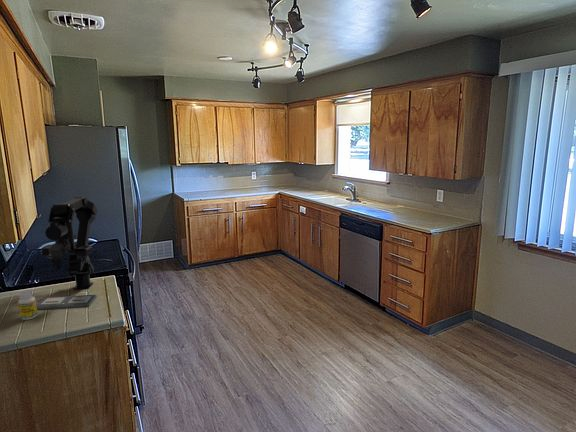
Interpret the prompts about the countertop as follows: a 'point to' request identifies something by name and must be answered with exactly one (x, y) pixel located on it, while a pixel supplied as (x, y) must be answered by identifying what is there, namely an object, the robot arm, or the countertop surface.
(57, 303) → the panel
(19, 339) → the countertop surface
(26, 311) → the supplement bottle
